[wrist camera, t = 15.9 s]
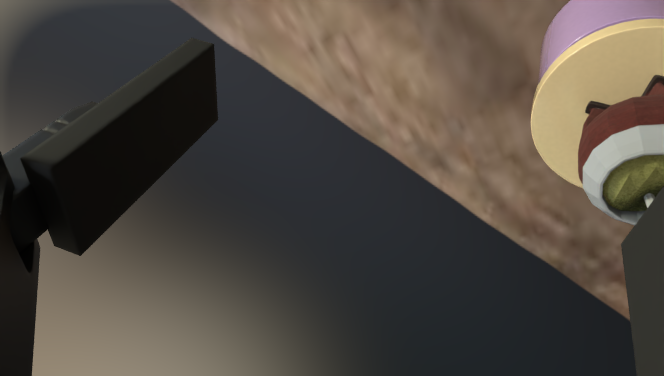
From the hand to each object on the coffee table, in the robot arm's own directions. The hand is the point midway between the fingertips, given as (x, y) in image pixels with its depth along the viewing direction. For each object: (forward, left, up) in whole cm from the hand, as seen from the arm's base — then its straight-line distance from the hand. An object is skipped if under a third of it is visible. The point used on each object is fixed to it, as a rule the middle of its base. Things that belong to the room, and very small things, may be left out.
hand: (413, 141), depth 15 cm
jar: (+8, +12, -33) cm, 36 cm away
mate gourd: (+8, +13, -21) cm, 26 cm away
